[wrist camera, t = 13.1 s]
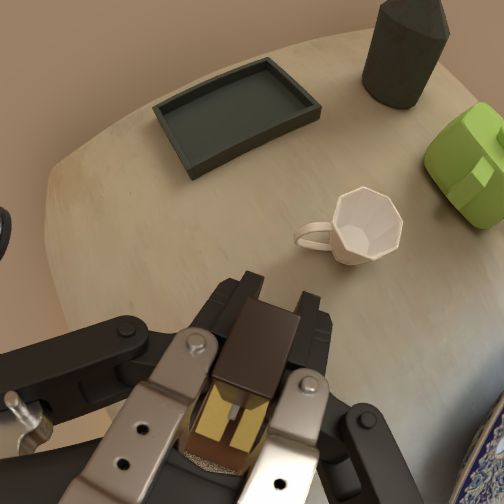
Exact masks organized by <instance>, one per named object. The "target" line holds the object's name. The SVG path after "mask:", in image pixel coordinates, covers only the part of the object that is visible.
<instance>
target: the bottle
mask: <svg viewBox="0 0 504 504" xmlns="http://www.w3.org/2000/svg"><path fill="white" fill-rule="evenodd" d="M449 35H450V32H449V28H448V24H447V20H446V16H445V13H444V9H443V6H442V3H441V0H387V1H386V2H384V3H383V4H381V5H380V9H379V13H378V17H377V21H376V26H375V29H374V33H373V37H372V41H371V45H370V48H369V52H368V56H367V59H366V63H365V67H364V70H363V74H362V80H363V83H364V85H365V87H366V88H367V89H368V91H369V92H370V93H371V95H372V96H373V97H374V98H375V99H377V100H378V101H379V102H381V103H384V104H387V105H389V106H392V107H394V108H397V109H398V108H408V107H413V106H415V104H416V103H417V101H418V99H419V97H420V96H421V94H422V92H423V90H424V88H425V86H426V84H427V82H428V80H429V78H430V76H431V74H432V72H433V70H434V68H435V66H436V63H437V61H438V59H439V57H440V55H441V53H442V51H443V49H444V46H445V44H446V42H447V40H448V38H449Z"/></svg>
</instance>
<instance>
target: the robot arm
mask: <svg viewBox="0 0 504 504" xmlns="http://www.w3.org/2000/svg"><path fill="white" fill-rule="evenodd" d="M2 231H3V219H2V216H1V214H0V240H1V236H2ZM263 281H264V276H261V275H258V274H255V273H253V272H250V271H246V272H245V274H244V275H243V277H242V279H241V280H240V281H237V280H234V279H232V278H228V279H226V280H224V281H223V282H221V283H219V285H218V286H217V288H216V289H215V290H214V292H213V293H212V295H211V296H210V297H209V300H207V302H206V303H205V305H204V306H203V307H202V309H201V310H200V312H199V313H198V315H197V316H196V317H195V319H194V320H193V322H192V323H191V324H190V326H189V327H188V328H185V329H182V330H181V331H179V332H178V333H172V334H166V333H160V332H154V331H149V330H148V328H147V326H146V324H145V323H144V322H143V321H142V320H141V319H139V318H137V317H134V316H129V315H124V316H119V317H116V318H113V319H110V320H107V321H104V322H101V323H98V324H95V325H92V326H89V327H86V328H82V329H79V330H76V331H73V332H70V333H67V334H64V335H61V336H58V337H55V338H52V339H48V340H45V341H42V342H39V343H36V344H32V345H29V346H26V347H23V348H20V349H16V350H13V351H10V352H7V353H4V354H0V504H305V501H306V498H307V495H308V492H309V489H310V486H311V483H312V480H313V476H314V473H315V470H316V469H317V472H318V475H319V477H320V480H321V483H322V486H323V488H324V491H325V494H326V496H327V499H328V502H329V504H424V501H423V499H422V497H421V495H420V492H419V490H418V488H417V486H416V484H415V481H414V479H413V477H412V475H411V473H410V471H409V468H408V466H407V464H406V462H405V460H404V458H403V456H402V454H401V452H400V449H399V447H398V445H397V443H396V441H395V439H394V437H393V435H392V433H391V431H390V429H389V427H388V425H387V423H386V421H385V419H384V417H383V415H382V413H381V412H380V411H379V410H378V409H377V408H376V407H374V406H373V405H371V404H368V403H358V404H355V405H353V406H352V407H350V406H348V405H347V404H345V403H343V402H342V401H340V400H339V399H337V398H336V397H335V396H333V395H332V394H331V392H330V389H329V384H328V382H327V380H326V379H325V371H326V365H327V359H328V353H329V346H330V345H329V344H330V340H331V333H332V325H333V324H332V321H331V318H330V316H329V314H328V313H325V312H322V311H320V310H318V309H319V304H320V299H321V297H319V296H316V295H314V294H311V293H308V292H305V291H303V292H302V294H301V296H300V299H299V301H298V303H297V306H296V308H295V310H294V313H295V314H298V315H301V316H302V320H301V323H300V326H299V329H298V332H297V334H296V337H295V340H294V343H293V346H292V349H291V352H290V354H289V357H288V360H287V363H286V365H285V368H284V371H283V374H282V376H281V379H280V382H279V384H278V387H277V390H276V392H275V395H274V397H273V399H272V400H270V401H269V404H268V407H267V409H266V414H265V416H264V418H263V421H262V423H261V425H260V428H259V430H258V432H257V434H256V437H255V439H254V441H253V443H252V446H251V448H250V450H249V452H248V454H247V456H246V458H245V460H244V462H243V464H242V465H241V467H240V469H239V471H238V473H237V475H230V474H222V473H215V472H209V471H205V470H203V469H202V468H200V467H199V466H198V465H196V464H195V463H193V462H192V461H191V460H189V459H188V458H187V457H185V456H184V455H183V453H184V450H185V448H186V445H187V442H188V439H189V436H190V434H191V431H192V429H193V427H194V425H195V422H196V420H197V418H198V416H199V414H200V411H201V409H202V407H203V405H204V402H205V400H206V398H207V396H208V393H209V389H210V385H211V383H212V382H213V379H212V377H211V373H212V371H213V369H214V367H215V365H216V362H217V360H218V358H219V356H220V354H221V351H222V349H223V347H224V345H225V342H226V340H227V338H228V336H229V334H230V331H231V329H232V327H233V325H234V322H235V320H236V318H237V316H238V313H239V311H240V309H241V307H242V304H243V302H244V300H245V298H246V297H247V296H249V297H252V298H255V299H257V300H258V298H259V294H260V291H261V288H262V285H263ZM126 398H127V400H126V402H125V403H124V405H123V406H122V408H121V410H120V411H119V413H118V414H117V416H116V418H115V419H114V421H113V422H112V424H111V426H110V427H109V429H108V430H107V432H106V434H105V435H104V437H101V438H97V439H94V440H90V441H86V442H83V443H79V444H75V445H71V446H67V447H62V448H58V449H54V450H49V451H44V452H39V453H34V452H35V450H36V448H37V447H38V446H39V445H41V444H43V443H45V442H46V441H48V440H49V439H50V437H51V435H52V433H53V426H54V425H57V424H60V423H63V422H66V421H69V420H72V419H74V418H77V417H80V416H83V415H85V414H88V413H90V412H93V411H96V410H99V409H101V408H104V407H106V406H109V405H111V404H114V403H116V402H119V401H121V400H124V399H126Z"/></svg>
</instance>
